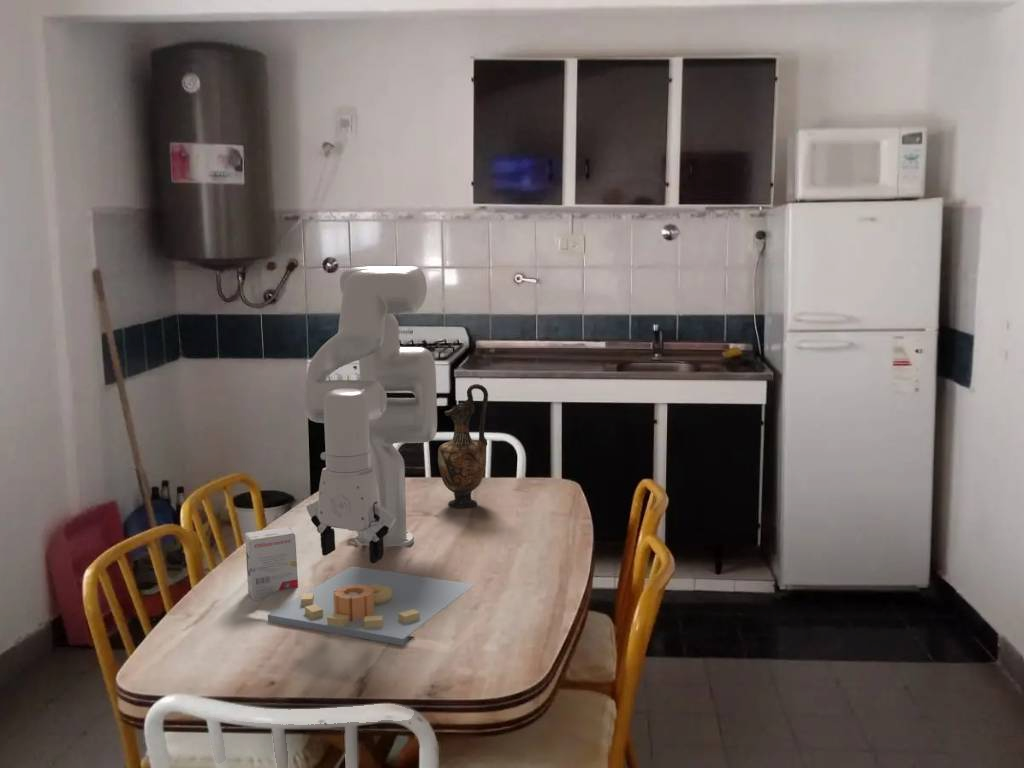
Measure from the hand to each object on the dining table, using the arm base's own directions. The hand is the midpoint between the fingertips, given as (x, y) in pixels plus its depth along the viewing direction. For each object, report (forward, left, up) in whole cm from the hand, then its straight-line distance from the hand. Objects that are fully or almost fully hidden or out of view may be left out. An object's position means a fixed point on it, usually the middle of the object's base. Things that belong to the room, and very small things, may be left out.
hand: (352, 556), depth 174 cm
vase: (-14, +71, -11) cm, 74 cm away
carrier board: (0, +6, -11) cm, 13 cm away
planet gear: (+1, -1, -10) cm, 10 cm away
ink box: (-21, +4, -11) cm, 24 cm away
